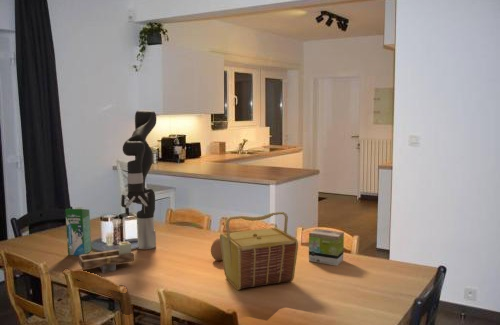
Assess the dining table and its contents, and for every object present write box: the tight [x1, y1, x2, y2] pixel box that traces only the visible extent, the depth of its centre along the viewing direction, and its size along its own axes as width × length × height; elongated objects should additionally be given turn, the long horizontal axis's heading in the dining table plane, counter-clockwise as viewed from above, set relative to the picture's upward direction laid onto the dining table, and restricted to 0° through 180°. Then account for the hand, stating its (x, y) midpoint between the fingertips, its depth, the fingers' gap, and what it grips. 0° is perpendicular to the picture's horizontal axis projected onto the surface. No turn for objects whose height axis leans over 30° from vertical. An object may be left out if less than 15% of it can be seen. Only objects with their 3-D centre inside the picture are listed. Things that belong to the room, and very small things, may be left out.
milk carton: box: [64, 206, 92, 256], centre depth 257 cm, size 9×9×25 cm
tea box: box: [308, 228, 345, 267], centre depth 239 cm, size 15×10×15 cm, turn 62°
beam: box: [77, 248, 135, 274], centre depth 234 cm, size 24×14×6 cm, turn 117°
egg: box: [210, 238, 223, 262], centre depth 242 cm, size 8×8×11 cm
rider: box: [117, 241, 132, 255], centre depth 237 cm, size 5×5×7 cm
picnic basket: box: [219, 211, 299, 291], centre depth 213 cm, size 29×26×30 cm
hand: (136, 214), depth 239 cm, fingers open, 8 cm apart
